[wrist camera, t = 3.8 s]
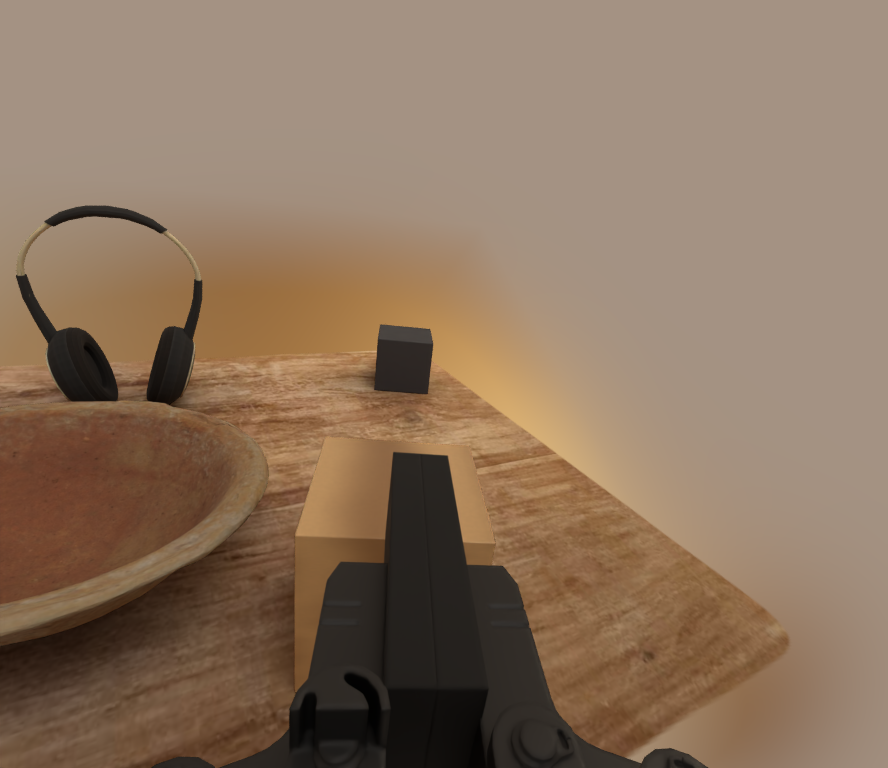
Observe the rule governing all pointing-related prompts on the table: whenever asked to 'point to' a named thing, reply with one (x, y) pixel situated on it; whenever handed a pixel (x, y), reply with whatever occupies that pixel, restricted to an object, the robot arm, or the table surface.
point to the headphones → (78, 354)
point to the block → (403, 359)
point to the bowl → (111, 505)
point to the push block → (366, 521)
